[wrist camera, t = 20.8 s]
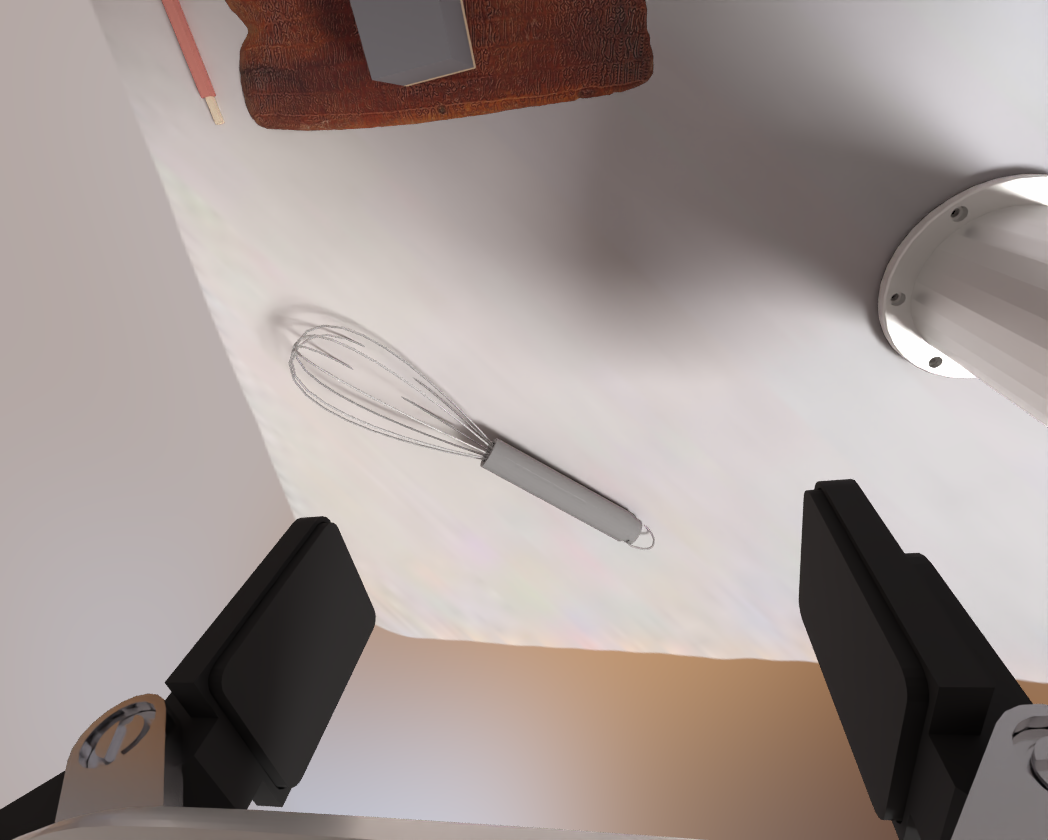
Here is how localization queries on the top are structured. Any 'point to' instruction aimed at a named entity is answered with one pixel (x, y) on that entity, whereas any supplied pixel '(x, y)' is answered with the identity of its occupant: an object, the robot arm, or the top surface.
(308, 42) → the wooden tablet
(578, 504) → the kitchen whisk
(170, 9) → the carpenter pencil
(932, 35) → the top surface
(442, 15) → the sanding block
